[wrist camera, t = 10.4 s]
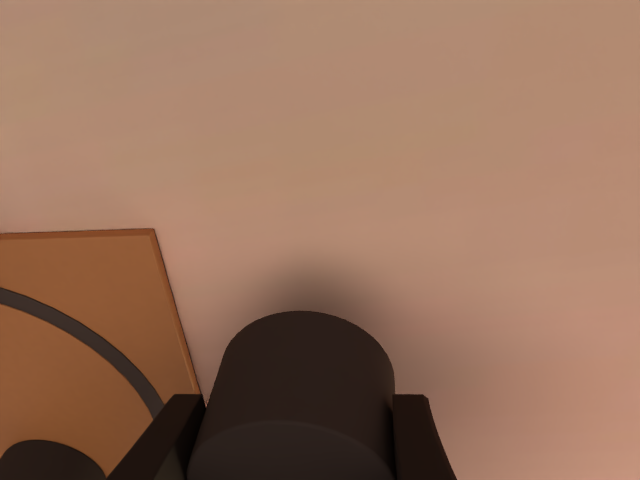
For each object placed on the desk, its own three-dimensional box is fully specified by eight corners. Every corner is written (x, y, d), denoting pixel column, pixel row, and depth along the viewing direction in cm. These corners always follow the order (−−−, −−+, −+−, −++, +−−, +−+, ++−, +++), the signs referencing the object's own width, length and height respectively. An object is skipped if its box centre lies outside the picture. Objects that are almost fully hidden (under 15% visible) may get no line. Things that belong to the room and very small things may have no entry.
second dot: (395, 435, 14) (400, 557, 11) (237, 433, 14) (208, 550, 12) (392, 308, 12) (397, 423, 9) (207, 311, 12) (163, 421, 10)
